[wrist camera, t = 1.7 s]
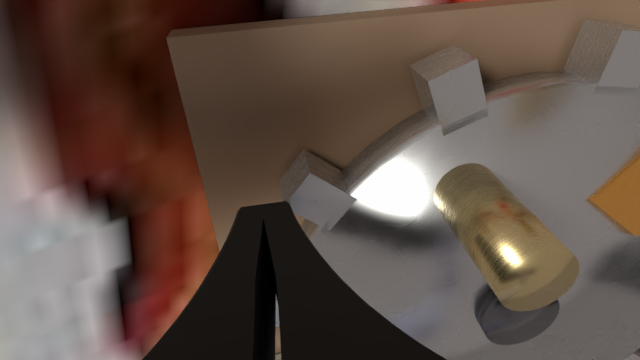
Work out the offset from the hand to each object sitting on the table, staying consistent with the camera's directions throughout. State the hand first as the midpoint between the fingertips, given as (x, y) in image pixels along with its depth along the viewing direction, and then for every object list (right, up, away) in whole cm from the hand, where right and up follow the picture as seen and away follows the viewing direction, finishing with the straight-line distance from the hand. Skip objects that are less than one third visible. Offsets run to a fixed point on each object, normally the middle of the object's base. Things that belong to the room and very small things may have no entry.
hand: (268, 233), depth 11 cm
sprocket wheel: (+9, -3, +6) cm, 11 cm away
